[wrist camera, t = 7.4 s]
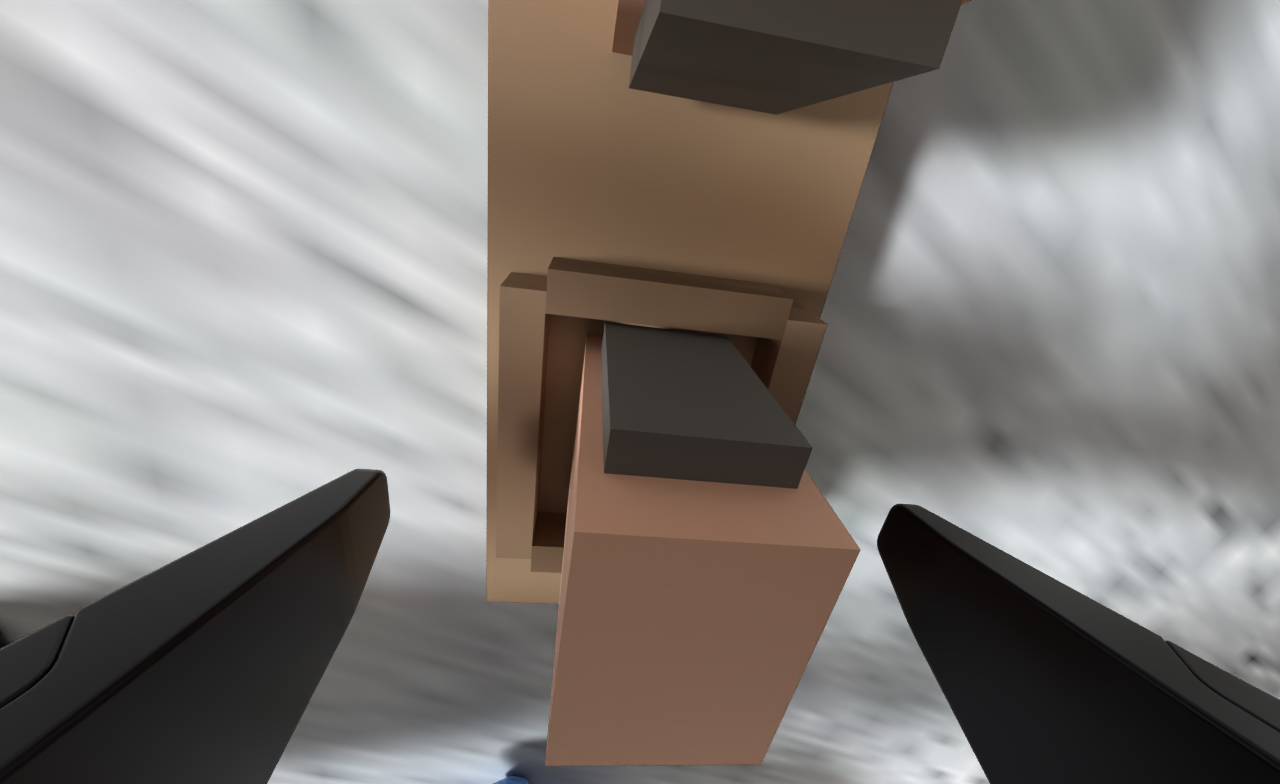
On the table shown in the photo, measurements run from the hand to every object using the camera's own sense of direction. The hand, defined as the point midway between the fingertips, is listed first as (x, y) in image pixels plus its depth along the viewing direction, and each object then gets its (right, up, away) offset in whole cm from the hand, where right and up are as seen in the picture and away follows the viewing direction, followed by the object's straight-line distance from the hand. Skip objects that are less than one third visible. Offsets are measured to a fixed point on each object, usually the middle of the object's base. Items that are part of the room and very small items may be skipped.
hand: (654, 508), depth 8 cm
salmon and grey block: (0, +1, +3) cm, 3 cm away
